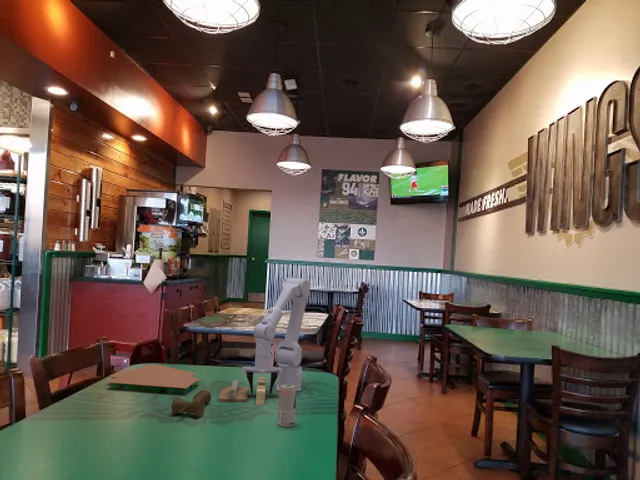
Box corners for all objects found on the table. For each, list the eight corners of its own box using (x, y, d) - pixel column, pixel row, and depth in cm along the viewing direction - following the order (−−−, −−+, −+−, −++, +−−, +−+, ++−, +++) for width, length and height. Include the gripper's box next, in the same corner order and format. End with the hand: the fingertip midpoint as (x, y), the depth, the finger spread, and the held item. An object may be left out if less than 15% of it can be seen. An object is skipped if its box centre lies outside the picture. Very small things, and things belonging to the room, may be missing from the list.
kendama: (217, 406, 170) (193, 423, 150) (191, 404, 171) (164, 420, 151) (218, 388, 170) (194, 403, 150) (192, 387, 172) (165, 401, 152)
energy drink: (295, 422, 155) (297, 384, 156) (293, 428, 150) (295, 388, 150) (279, 420, 156) (281, 382, 156) (276, 426, 150) (278, 387, 151)
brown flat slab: (129, 376, 204) (130, 356, 204) (206, 381, 201) (207, 361, 201) (99, 390, 181) (100, 368, 182) (185, 397, 178) (186, 374, 178)
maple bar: (257, 390, 191) (258, 377, 192) (265, 390, 192) (266, 377, 192) (255, 405, 172) (256, 391, 172) (264, 405, 172) (265, 391, 172)
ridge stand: (248, 389, 190) (248, 379, 190) (246, 402, 174) (247, 390, 174) (222, 389, 189) (222, 378, 189) (218, 401, 173) (218, 390, 173)
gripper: (243, 357, 177) (241, 395, 177) (283, 358, 179) (281, 396, 179) (243, 353, 184) (241, 390, 184) (282, 354, 186) (280, 390, 186)
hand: (261, 392), depth 182 cm, fingers open, 6 cm apart
